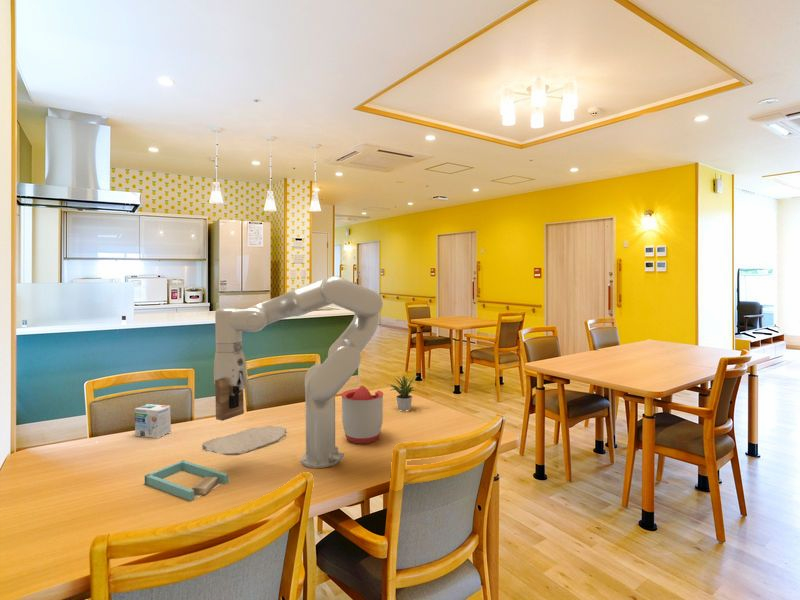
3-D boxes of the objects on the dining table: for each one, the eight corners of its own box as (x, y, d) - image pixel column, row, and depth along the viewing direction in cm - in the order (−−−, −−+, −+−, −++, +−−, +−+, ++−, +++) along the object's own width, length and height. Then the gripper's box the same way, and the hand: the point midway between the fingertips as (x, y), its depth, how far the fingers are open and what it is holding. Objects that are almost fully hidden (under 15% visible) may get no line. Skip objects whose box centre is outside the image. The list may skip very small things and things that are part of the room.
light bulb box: (134, 436, 167) (133, 408, 166) (148, 430, 173) (147, 403, 173) (158, 439, 164) (157, 410, 164) (171, 432, 171) (171, 405, 170)
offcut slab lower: (221, 490, 126) (221, 484, 126) (198, 503, 119) (198, 497, 118) (210, 487, 127) (210, 481, 127) (187, 500, 120) (187, 494, 120)
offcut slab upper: (217, 483, 127) (217, 477, 126) (205, 495, 120) (205, 488, 119) (205, 482, 127) (205, 476, 127) (192, 494, 120) (192, 488, 120)
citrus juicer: (392, 433, 170) (392, 382, 169) (370, 449, 155) (370, 392, 154) (357, 427, 177) (357, 378, 176) (333, 442, 161) (332, 388, 160)
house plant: (407, 403, 211) (407, 369, 210) (427, 409, 201) (427, 374, 200) (383, 408, 202) (383, 373, 201) (403, 416, 191) (403, 378, 191)
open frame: (228, 486, 127) (228, 474, 127) (190, 505, 117) (190, 492, 116) (183, 471, 137) (183, 460, 137) (144, 487, 126) (144, 475, 126)
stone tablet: (198, 448, 156) (198, 442, 156) (274, 427, 178) (274, 421, 177) (219, 462, 145) (219, 455, 145) (297, 438, 166) (297, 432, 166)
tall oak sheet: (243, 413, 140) (243, 376, 139) (222, 420, 133) (221, 381, 132) (237, 412, 141) (236, 375, 141) (215, 419, 134) (215, 380, 134)
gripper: (257, 348, 135) (258, 407, 136) (221, 344, 143) (221, 400, 144) (237, 351, 129) (238, 414, 130) (200, 347, 137) (201, 406, 138)
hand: (229, 406), depth 137 cm, fingers closed on tall oak sheet, 3 cm apart
